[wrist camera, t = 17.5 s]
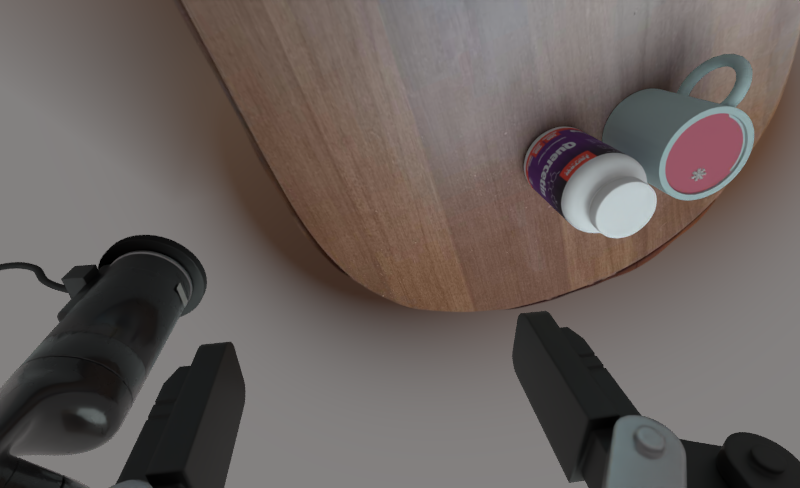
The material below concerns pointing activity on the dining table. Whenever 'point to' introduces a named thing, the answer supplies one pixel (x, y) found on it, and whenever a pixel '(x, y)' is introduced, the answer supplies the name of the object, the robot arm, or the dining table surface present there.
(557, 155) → the pill bottle
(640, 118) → the mug
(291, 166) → the dining table surface
